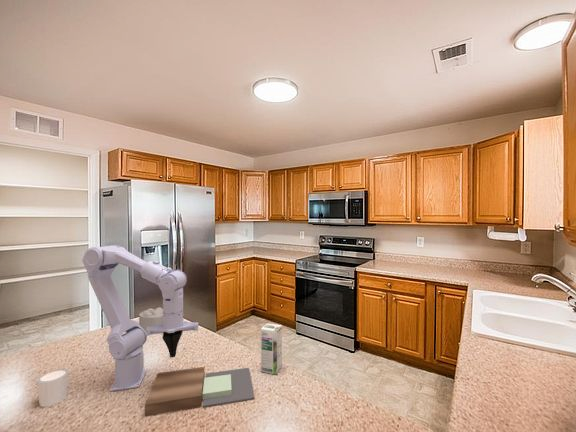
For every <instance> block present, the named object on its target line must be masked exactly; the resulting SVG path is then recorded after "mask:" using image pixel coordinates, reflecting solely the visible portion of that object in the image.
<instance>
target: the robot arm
mask: <svg viewBox="0 0 576 432" xmlns="http://www.w3.org/2000/svg"><path fill="white" fill-rule="evenodd" d="M82 264H83V265H84V268H85V270H86V272H87V278H88V281H89V283H90V285H91V287H92V289H93V292H94V294H95V297H96V299H97V301H98V303H99V305H100V307H101V309H102V312H103V314H104V315H105V318H106V320H107V322H108V325H109V327H110V332H109V334H108V335H107V338H106V341H107V343H108V352H109V354H110V357H112V358H113V359H114V382H113V384H111V387H110V388H109V391H110V392H113V391H114V392H115V391H123V390H129V389H134V388H136V389H137V388H139V387H140V385H141V384H142V381H143V380H144V377H145V376H146V373H147V371H148V370H147V369H144V367H145V366H144V363H145V361H144V359H145V357H144V356H145V355H144V350H143V349H144V345H145V344H146V343H147V339H148V336H151V335H157V334H158V335H159V334H162V341H163V342H164V343H165V345H166V347H167V350H168V354H169V358H176V356H177V349H178V345H179V341H180V340H181V337H182V334H183V332H186V331H195V332H196V331H199V322H198V321H197V322H196V321H195V322H191V321H189V322H188V321H184V287H185V286H186V284H187V281H188V280H187V279H188V278H187V275H186V273H185V272H183V271H182V270H181V269H175V270H173V268H171V267H167V266H164V265H163V264H161V263H160V261H159V260H150V261H145V260H144V259H142V258H140V257H138V256H136V255H135V254H134V253H131V252H130V251H128V250H126V248H125V247H123V246H121V245H119V244H112V245H105V246H98V247H97V246H91V247H90V248H88V249H87V250H85V253H84V255H83V258H82ZM119 264H121V265H123V266H125V267H128V268H130V269H132V270H135V271H136V272H139V273H140V276H141V278H142V279H144V280H147V281H149V282H151V283H153V284H155V285H157V286H158V289H160V291H161V295H162V296H161V297H162V309H163V324H161V325H156V326H150V327H148V328H147V329H146V331H145V330H144V329H143V328H142V327H141V326H140V325H139V321H136V320H133V319H131V318H130V316H129V313H128V311H127V309H126V307H125V305H124V303H123V300H122V299H121V296H120V294H119V292H118V290H117V287H116V286H115V283H114V281H113V279H112V278H111V276H112V274H113V272H114V271H115V270H116V268H117V267H118V266H119Z"/></svg>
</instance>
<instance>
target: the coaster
mask: <svg viewBox="0 0 576 432" xmlns="http://www.w3.org/2000/svg"><path fill="white" fill-rule="evenodd" d="M228 395H232V389H231V374H229V375H222V376H214V377H207V378H206V377H204V385H203V394H202V400H204V399H208V398H215V397H221V396H228Z"/></svg>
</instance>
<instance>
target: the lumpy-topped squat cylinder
mask: <svg viewBox="0 0 576 432" xmlns="http://www.w3.org/2000/svg"><path fill="white" fill-rule="evenodd" d="M138 315H139V317H138V323H139V325H140V326H141V327H142V328H143V329H144V330H145V331H146V329H147V328H148V327H150V326H156V325H161V324H163V307H157V308H148V309H147V310H146V309H145V310H143V311H141V312H140V313H139V314H138Z"/></svg>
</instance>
